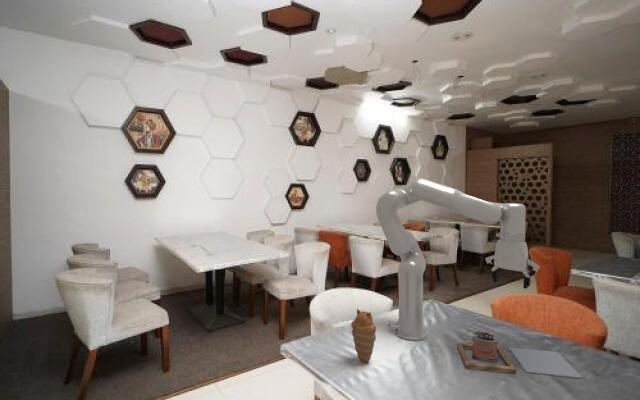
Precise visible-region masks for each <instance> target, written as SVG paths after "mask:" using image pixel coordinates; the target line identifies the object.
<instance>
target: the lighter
mask: <svg viewBox="0 0 640 400" xmlns="http://www.w3.org/2000/svg"><path fill="white" fill-rule="evenodd" d="M473 331H474V335H472V336H471V339H472V343H471V344H472V350H471V359H472V360H475V361H478V362H484V363H492V364H493V363H494V364H498V353H497V347H498V343H499V342H498V341H499V340H498V339H497V338H495V333H494V332H488V330H483V331H482V330H476V329H475V330H473Z"/></svg>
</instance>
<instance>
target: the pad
mask: <svg viewBox="0 0 640 400" xmlns="http://www.w3.org/2000/svg"><path fill="white" fill-rule="evenodd" d="M508 350H509V351H510V353H511V355H513V356H514V358H515V359H516V361H517V363H518V364H519V365H520V366H521V368H522V370H523V371H524V372H525V373H526V374H534V375H542V376H543V375H544V376H552V377H562V378H572V379H580V380H581V379H583V380H584V377H583V376H582V375H581V374H580V373H579V372H578V371H577V370H576V369H575V368H574V367H573V366H572V365H571V364H570V363H569V362H568V361H567V360H566V359H565V358H564V357H563V356H562V355H561V354H560V353H559V352H558V351H550V350H539V349H529V348H520V347H519V348H518V347H517V348H516V347H508Z"/></svg>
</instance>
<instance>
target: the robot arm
mask: <svg viewBox="0 0 640 400" xmlns="http://www.w3.org/2000/svg"><path fill="white" fill-rule="evenodd" d="M420 201H421V202H425V203H428V204H431V205H433V206H437V207H439V208H441V209H445V210H447V211H449V212H453V213H456V214H458V215H460V216H463V217H466V218H468V219H472V220H474V221H477V222H480V223H482V224H486V225H494V224H497V223H498V222H500V231H499V232H496V233H495V236H496V237H498V238H499V239H498V240H497V241H496V244H495V249H494V254H493V255H490V256H487V257H485V259H484V260H485V262H486V264H487V266H488V268H490V269H491V272H492V276H491V277H492V280H493V283H497V282H499V276H500V273H499V272H500V271H499V270H498V269H503V270H509V271H515V272H521V273H522V274H523V275H524V277H523V286H522V287H523V289H528V288H529V287H530V285H531V277H532V276H533V275H535V274H536V273H538V271H539V269H540V268H541V266H540V265H539V264H537V263H536V262H534V261H532V260H531V259H529V250H528V245H527V242H525V239H526V238H525V237H526V236H525V234H526V211H527V210H526V205H524V204H522V203H516V202H514V203H513V202H511V203H510V202H506V203H500V202H494V201H493V202H492V201H486V200H483V199H480V198H477V197H475V196H472V195H469V194H466V193H464V192H462V191H460V190H459V189H456V188H453V187H450V186H448V185H445V184H441V183H439V182H436V181H432V180H430V179H427V178H423V177H418V178H415V179H414V180H412V182H411V183H409V184H406V185H403V186H401V187H398V188H396V189H395V188H394V189H388V190H387V191H385V192H384V193H383V194H382V195H381V196H380V197H379V199H378V201H377V203H376V207H375V208H376V209H375V213H376V218H377V221H378V223H379V225H380V228H381V229H382V231H383V234H384V237H385V239H386V241H387V244H388V246H389V249H390V251H391V252H392V253H393V254H394V255H396V256H399V258H400V260H401V261H400V263H399V266H398V267H397V268H398V269H397V277H398V319H397V320H395V321H393V320H392V321H390V320H387V326H388V327H390V329H394V333H395V335H396V336H398V337H400V338H401V339H404V340H408V341H421V340H424V339H425V338H427V331H426V329H424V326H423V325H424V323H423V322H424V320H423V319H424V318H423V317H424V278H423V277H424V273H425V271H426V269H427V268H426V267H427V261H426V257H424V254H423V253H422V250H421V248H420V246H419V243H418V241H417V239H416V237H415V236H414V234H413V233H412V232H410V231H408V230H407V229H405V226H404V225H403V222H402V220H401V218H400V216H399V215H398V210H399V209H403V208H405V207H407V206H410V205H413V204H415V203H418V202H420ZM492 260H493V263H492ZM529 266H530V267H533V268H532V270H531V271H530V270H529Z"/></svg>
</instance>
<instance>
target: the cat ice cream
mask: <svg viewBox="0 0 640 400" xmlns="http://www.w3.org/2000/svg"><path fill="white" fill-rule="evenodd" d="M350 326H351V334H352V336H353V337H352V338H353V340H352V341H353V343H354V349H355V352H356V355H357V358H358V359H359V361H361V362H363V363H367V362H370V360H371V359H372V355H373V353H374V351H373V350H374V346H375V341H376V339H377V336H376V332H377V327H376V325H375V323H374V318H373V316H372V314H371V312H368V311H364V310H363V311H361V310H360V309H358V308H356V317H355V319H353V320H352V322H351V325H350Z"/></svg>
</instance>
